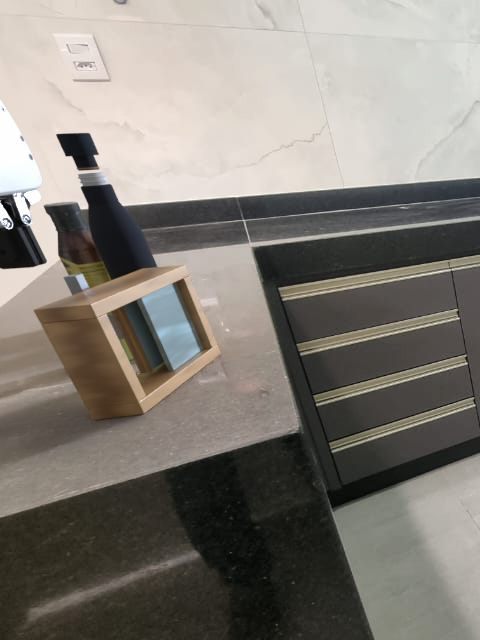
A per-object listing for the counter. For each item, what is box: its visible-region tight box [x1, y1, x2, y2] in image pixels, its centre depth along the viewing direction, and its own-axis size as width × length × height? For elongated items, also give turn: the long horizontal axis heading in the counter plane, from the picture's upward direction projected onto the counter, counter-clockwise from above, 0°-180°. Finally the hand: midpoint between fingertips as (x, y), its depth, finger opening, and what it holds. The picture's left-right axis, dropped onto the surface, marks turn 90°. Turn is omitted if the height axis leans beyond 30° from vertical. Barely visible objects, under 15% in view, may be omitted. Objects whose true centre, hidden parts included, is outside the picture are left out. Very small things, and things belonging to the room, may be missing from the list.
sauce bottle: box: [43, 201, 111, 288], centre depth 90 cm, size 7×6×20 cm
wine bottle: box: [55, 132, 158, 280], centre depth 88 cm, size 6×6×30 cm
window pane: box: [63, 274, 164, 374], centre depth 66 cm, size 4×8×13 cm, turn 13°
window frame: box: [33, 264, 222, 421], centre depth 65 cm, size 5×18×13 cm, turn 13°
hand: (24, 266), depth 55 cm, fingers closed
